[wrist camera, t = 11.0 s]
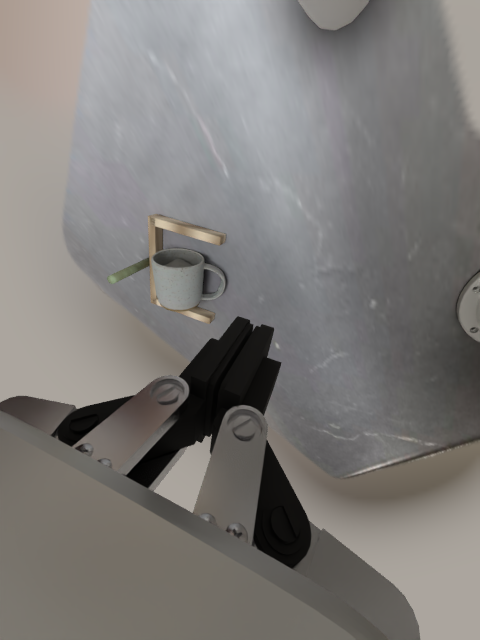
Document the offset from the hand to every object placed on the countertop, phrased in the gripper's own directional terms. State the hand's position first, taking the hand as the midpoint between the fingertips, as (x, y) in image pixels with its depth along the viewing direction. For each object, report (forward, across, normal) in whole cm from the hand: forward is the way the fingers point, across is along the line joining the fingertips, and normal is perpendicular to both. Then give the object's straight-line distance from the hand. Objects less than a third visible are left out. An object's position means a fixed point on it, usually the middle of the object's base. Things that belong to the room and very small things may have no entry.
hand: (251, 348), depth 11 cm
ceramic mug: (+27, +17, +10) cm, 33 cm away
